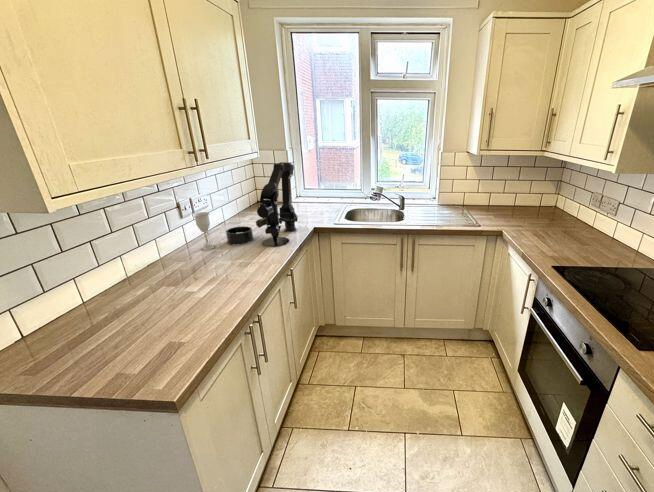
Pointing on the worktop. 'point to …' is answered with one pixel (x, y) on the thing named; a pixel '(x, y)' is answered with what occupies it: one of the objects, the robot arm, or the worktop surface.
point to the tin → (239, 235)
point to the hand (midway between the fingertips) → (275, 240)
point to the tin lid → (271, 242)
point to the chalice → (203, 227)
